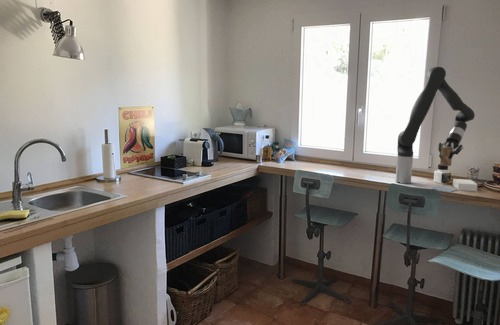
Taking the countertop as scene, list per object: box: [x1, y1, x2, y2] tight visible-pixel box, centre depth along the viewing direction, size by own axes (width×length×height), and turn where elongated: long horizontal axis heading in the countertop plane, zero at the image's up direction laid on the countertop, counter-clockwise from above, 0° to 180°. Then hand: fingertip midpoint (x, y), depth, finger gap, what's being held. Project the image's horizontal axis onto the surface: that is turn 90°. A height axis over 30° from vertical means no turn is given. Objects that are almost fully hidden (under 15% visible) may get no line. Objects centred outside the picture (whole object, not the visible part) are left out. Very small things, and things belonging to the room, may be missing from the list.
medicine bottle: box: [433, 163, 452, 185], centre depth 257 cm, size 7×7×12 cm
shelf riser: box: [452, 178, 478, 192], centre depth 242 cm, size 10×14×4 cm
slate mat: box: [430, 185, 459, 193], centre depth 239 cm, size 12×12×1 cm
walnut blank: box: [439, 146, 453, 167], centre depth 235 cm, size 4×4×11 cm
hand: (444, 157), depth 234 cm, fingers closed on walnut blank, 4 cm apart
